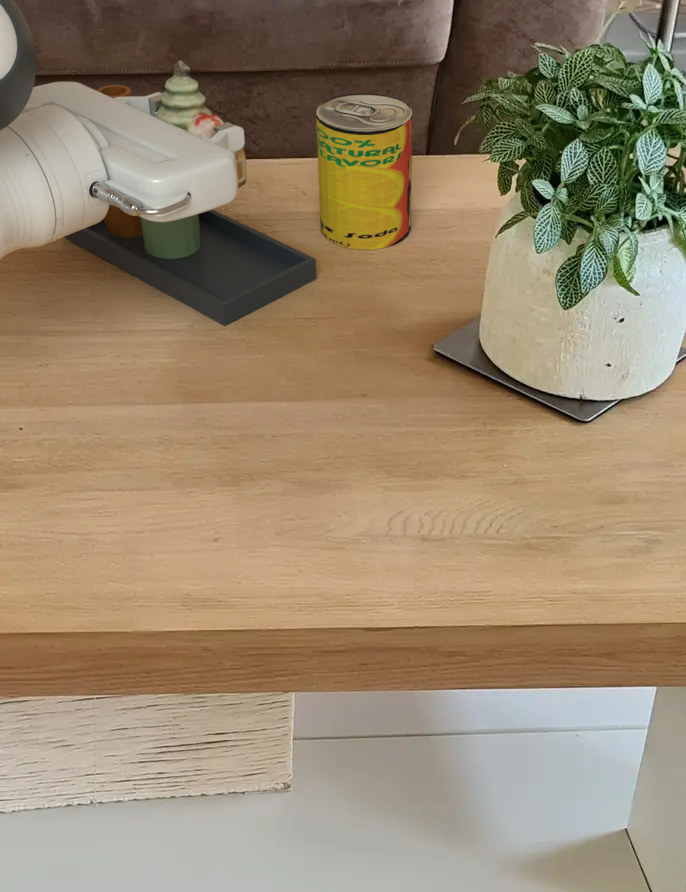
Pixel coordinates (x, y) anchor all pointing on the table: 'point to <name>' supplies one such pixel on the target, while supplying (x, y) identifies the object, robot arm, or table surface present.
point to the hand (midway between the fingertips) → (202, 118)
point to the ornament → (192, 111)
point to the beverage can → (364, 170)
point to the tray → (210, 266)
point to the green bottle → (172, 237)
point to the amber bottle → (115, 217)
